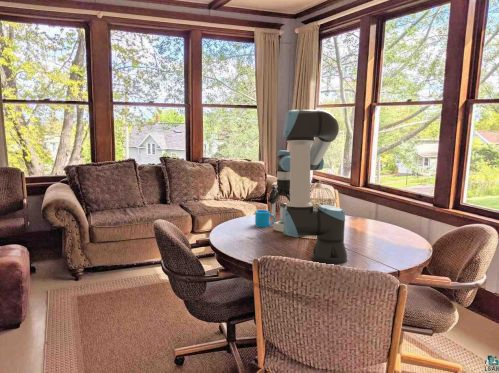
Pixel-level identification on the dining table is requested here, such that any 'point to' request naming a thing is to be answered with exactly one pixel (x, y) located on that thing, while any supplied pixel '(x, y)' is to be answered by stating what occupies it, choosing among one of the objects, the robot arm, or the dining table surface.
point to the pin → (282, 207)
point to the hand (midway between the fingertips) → (283, 217)
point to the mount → (278, 226)
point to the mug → (263, 218)
